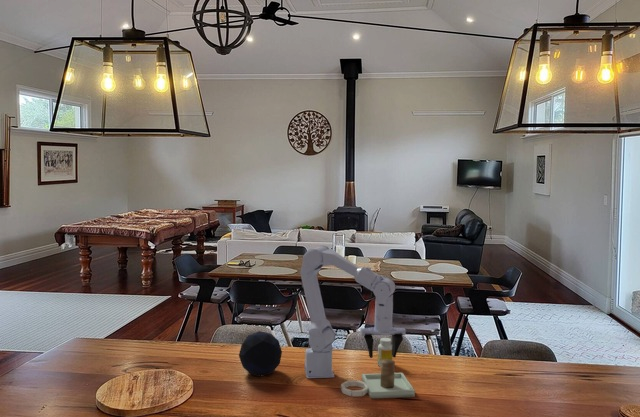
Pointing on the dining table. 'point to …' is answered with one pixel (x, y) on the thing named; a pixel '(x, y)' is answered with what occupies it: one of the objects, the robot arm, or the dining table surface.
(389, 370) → the walnut canister
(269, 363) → the decorative orb
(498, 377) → the dining table surface
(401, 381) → the tray
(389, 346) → the supplement bottle
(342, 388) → the holder ring
